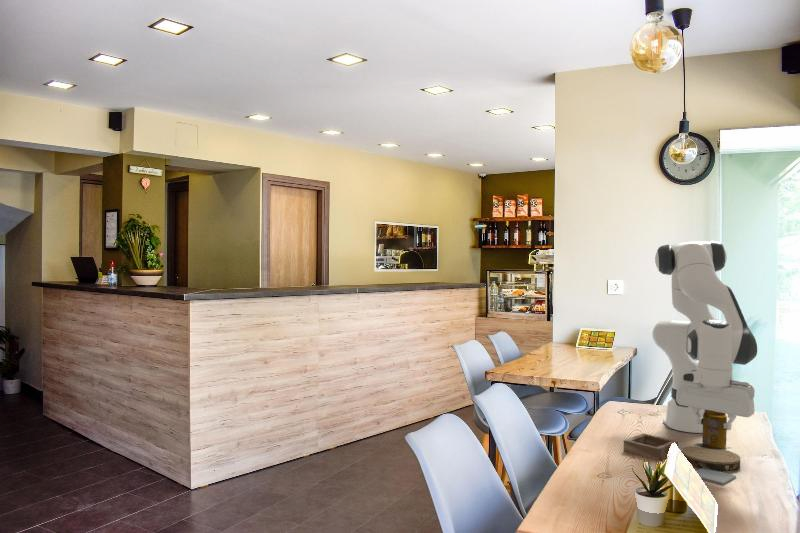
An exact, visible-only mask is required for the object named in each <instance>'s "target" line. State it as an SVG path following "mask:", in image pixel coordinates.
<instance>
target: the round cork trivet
mask: <svg viewBox="0 0 800 533" xmlns="http://www.w3.org/2000/svg"><path fill="white" fill-rule="evenodd" d="M682 453H683V454H684V456H685V457H686V458H687V460H688V461H689V462H690V463H691V464H692V465H693V466H692V467H694V468H696V469H701V468H703V467H704V468H708V469H712V470H716V471H719V472H723V473H726V472H729V473H731V472H735V471H738V470H740V469H741V456H740V455H739V454H737V453H735V452H733V451H730V450H728V449H727V450H720V451H717V452H716V451H711V450H708V449H704V448H700V447H696V446H694V445H691V446H685V447H683V448H682V450H681V454H682Z"/></svg>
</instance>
